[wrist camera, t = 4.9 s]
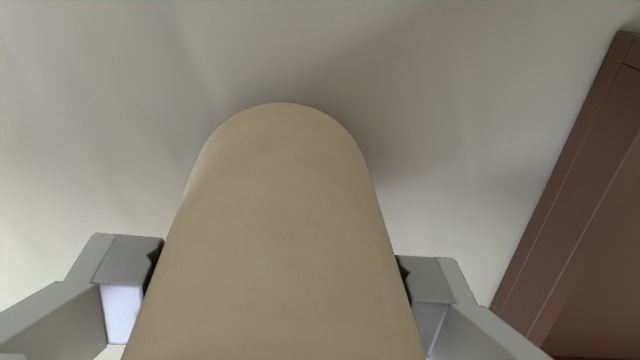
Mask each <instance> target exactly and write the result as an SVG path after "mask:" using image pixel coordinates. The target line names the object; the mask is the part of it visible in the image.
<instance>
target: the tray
mask: <svg viewBox="0 0 640 360" xmlns="http://www.w3.org/2000/svg"><path fill="white" fill-rule="evenodd" d="M489 310H490V311H491V312H493V313H494V314H495V315H497V316H498V317H499V318H500V319H502V320H503V321H504V322H506V323H507V324H508V325H510V326H511V327H512V328H513V329H515V330H516V331H517V332H519V333H520V334H521V335H523V336H524V337H525V338H526V339H528V340H529V341H530V342H532V343H533V344H534V345H536V346H537V347H538V348H540V349H541V350H542V351H543V352H545V353H546V354H547V355H549V356H550V357H551V358H553V359H554V360H640V34H639V33H633V32H626V31H618V32H617V34H616V37H615V39H614V41H613V43H612V45H611V47H610V50H609V52H608V54H607V56H606V58H605V60H604V63H603V65H602V67H601V69H600V71H599V73H598V76H597V78H596V80H595V82H594V84H593V86H592V88H591V91H590V93H589V95H588V97H587V99H586V101H585V104H584V106H583V108H582V110H581V112H580V114H579V117H578V119H577V121H576V123H575V125H574V127H573V130H572V132H571V134H570V136H569V138H568V140H567V142H566V145H565V147H564V149H563V151H562V153H561V155H560V158H559V160H558V162H557V164H556V166H555V168H554V171H553V173H552V175H551V177H550V179H549V181H548V184H547V186H546V188H545V190H544V192H543V194H542V196H541V199H540V201H539V203H538V205H537V207H536V209H535V212H534V214H533V216H532V218H531V220H530V222H529V225H528V227H527V229H526V231H525V233H524V235H523V238H522V240H521V242H520V244H519V246H518V248H517V250H516V253H515V255H514V257H513V259H512V261H511V263H510V266H509V268H508V270H507V272H506V274H505V276H504V279H503V281H502V283H501V285H500V287H499V289H498V292H497V294H496V296H495V298H494V300H493V302H492V304H491V307H490V309H489Z"/></svg>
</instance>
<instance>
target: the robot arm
mask: <svg viewBox="0 0 640 360" xmlns="http://www.w3.org/2000/svg"><path fill="white" fill-rule="evenodd" d="M164 244H165V242H164V240H163V238H155V237H144V236H133V235H122V234H119V235H117V234H108V233H95V234H93V235H92V236H91V237H90V239H89V240H88V242H87V244H86V245H85V247H84V248H83V250H82V252H81V253H80V255H79V256H78V258H77V260H76V261H75V263H74V264H73V266H72V268H71V269H70V271H69V273H68V274H67V276H66V277H65V279H64V281H63V282H61V281H55V282H54V283H52V284H50V285H48V286H47V287H45V288H43V289H41V290H39V291H38V292H36V293H34V294H32V295H31V296H29V297H27V298H25V299H24V300H22V301H20V302H18V303H16V304H15V305H13V306H11V307H9V308H8V309H6V310H4V311H2V312H1V313H0V360H93V359H94V358H95V357H96V356H98V355H99V354H100V353H101V352H102V351H103V350H104V349H105V348H106V347H107V344H111V345H126V344H127V341H128V339H129V336H130V334H131V331H132V328H133V326H134V323H135V320H136V318H137V315H138V313H139V310H140V307H141V305H142V302H143V299H144V297H145V294H146V291H147V289H148V286H149V284H150V281H151V278H152V276H153V273H154V270H155V268H156V265H157V263H158V260H159V257H160V255H161V252H162V249H163V247H164ZM395 258H396V262H397V265H398V268H399V271H400V275H401V278H402V281H403V285H404V288H405V291H406V294H407V298H408V301H409V304H410V307H411V311H412V314H413V317H414V320H415V324H416V327H417V330H418V333H419V337H420V340H421V343H422V346H423V350H424V353H425V356H426V358H428V360H554V359H553V358H551V357H550V356H549V355H547V354H546V353H545V352H543V351H542V350H541V349H540V348H538V347H537V346H536V345H534V344H533V343H532V342H530V341H529V340H528V339H526V338H525V337H524V336H523V335H521V334H520V333H519V332H517V331H516V330H515V329H513V328H512V327H511V326H510V325H508V324H507V323H506V322H504V321H503V320H502V319H500V318H499V317H498V316H497V315H495V314H494V313H493V312H491V311H490V310H489V309H487V308H486V307H485V306H478V304H477V302H476V300H475V298H474V296H473V294H472V292H471V290H470V288H469V286H468V284H467V282H466V280H465V278H464V276H463V274H462V272H461V269H460V267H459V265H458V263H457V261H456V260H455V259H454V258H447V257H421V256H405V255H395Z"/></svg>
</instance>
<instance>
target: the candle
mask: <svg viewBox="0 0 640 360" xmlns="http://www.w3.org/2000/svg"><path fill="white" fill-rule="evenodd" d="M121 360H427V359H426V356H425V353H424V350H423V346H422V343H421V340H420V337H419V333H418V330H417V327H416V324H415V320H414V317H413V314H412V311H411V307H410V304H409V301H408V298H407V294H406V291H405V288H404V285H403V281H402V278H401V275H400V271H399V268H398V265H397V262H396V258H395V255H394V252H393V249H392V245H391V242H390V239H389V236H388V232H387V229H386V226H385V223H384V219H383V216H382V213H381V210H380V206H379V203H378V200H377V197H376V193H375V190H374V187H373V184H372V180H371V177H370V174H369V171H368V167H367V165H366V162H365V159H364V156H363V154H362V152H361V150H360V148H359V146H358V144H357V143H356V141H355V140H354V138H353V137H352V136H351V134H350V133H349V132H348V131H347V130H346V129H345V128H344V127H343V126H342V125H341V124H340V123H339V122H338V121H336V120H335V119H334V118H332V117H330V116H329V115H327V114H326V113H324V112H321V111H319V110H317V109H315V108H312V107H308V106H305V105H301V104H295V103H284V102H276V103H266V104H261V105H256V106H253V107H250V108H247V109H244V110H242V111H240V112H238V113H236V114H234V115H233V116H231V117H230V118H228V119H227V120H225V121H224V122H223V123H222V124H221V125H220V126H219V127H217V129H216V130H215V131H214V132H213V133H212V134H211V136H210V137H209V138H208V139H207V141H206V142H205V144H204V146H203V147H202V149H201V151H200V154H199V156H198V158H197V161H196V163H195V166H194V168H193V170H192V173H191V176H190V178H189V181H188V184H187V186H186V189H185V191H184V194H183V197H182V199H181V202H180V205H179V207H178V210H177V212H176V215H175V218H174V220H173V223H172V226H171V228H170V231H169V234H168V236H167V239H166V241H165V244H164V247H163V249H162V252H161V255H160V257H159V260H158V263H157V265H156V268H155V270H154V273H153V276H152V278H151V281H150V284H149V286H148V289H147V291H146V294H145V297H144V299H143V302H142V305H141V307H140V310H139V313H138V315H137V318H136V320H135V323H134V326H133V328H132V331H131V334H130V336H129V339H128V341H127V344H126V347H125V349H124V352H123V355H122V357H121Z"/></svg>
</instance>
